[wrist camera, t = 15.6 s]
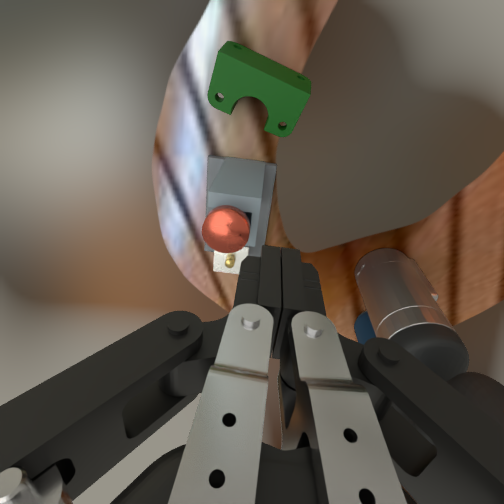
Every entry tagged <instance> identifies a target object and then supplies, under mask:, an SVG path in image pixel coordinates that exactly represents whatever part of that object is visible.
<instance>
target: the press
mask: <svg viewBox="0 0 504 504" xmlns="http://www.w3.org/2000/svg"><path fill="white" fill-rule="evenodd" d="M276 168H277V164H274V163H266V162H264V161H256V160H249V159H241V158H233V157H221V156H213V155H209V156H208V166H207V195H206V217H207V215H208V213H209V212H210V211H211V210H212V209H214V208H216V207H218V206H222V205H230V206H234V207H236V208H238V209H240V210H241V211H243V212H244V213H245V214H246V216H247V217H248V219H249V222H250V233H249V239H248V242H247V243H246V245H245V246H249V254H248V256H256V257H260V255H261V248H262V245H265V238H266V232H267V226H268V219H269V213H270V207H271V200H272V194H273V187H274V181H275V175H276ZM205 251H211V252H214V249H212V248H211V247H209V246H208V245H207V243H206V242H205Z"/></svg>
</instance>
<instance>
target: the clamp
mask: <svg viewBox="0 0 504 504" xmlns="http://www.w3.org/2000/svg"><path fill="white" fill-rule="evenodd" d="M218 93H221V94H223V96H224V98H220V97H219V96H218ZM310 94H311V81H310V80H309V79H308V78H307V77H305V76H303V75H302V74H300V73H297V72H295V71H293V70H291V69H289V68H287V67H285V66H283V65H281V64H279V63H277V62H275V61H273V60H271V59H269V58H267V57H265V56H263V55H261V54H258V53H256V52H254V51H252V50H250V49H248V48H246V47H244V46H242V45H240V44H238V43H235V42H232V41H227V42H226V43H225V44H224V45H223V46H222V47H221V49H220V50H219V51H218V55H217V59H216V63H215V67H214V70H213V74H212V78H211V82H210V86H209V90H208V100H209V103H210V104H211V105H212V106H213V107H214V108H216V109H218V110H221V111H223V112H225V113H227V114H229V115H231V113H232V111H233V110H234V108H235V106H236V104H237V102H238V99H240V98H242V97H245V96H252V97H255V98H258V99H259V100H261V101H262V102H263V103H264V105H265V106H266V108H267V110H268V117H267V121H266V124H265V127H264V130H265V131H267V132H270V133H272V134H274V135H276V136H279V137H286V136H288V135H290V134H291V133H292V131H293V129H294V127H295V125H296V123H297V121H298V119H299V117H300V115H301V113H302V111H303V109H304V107H305V105H306V103H307V101H308V99H309V97H310ZM280 122H285V123H286V124H287V125H285V126H281V125H280V124H279V123H280Z"/></svg>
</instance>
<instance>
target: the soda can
mask: <svg viewBox="0 0 504 504" xmlns="http://www.w3.org/2000/svg"><path fill="white" fill-rule="evenodd" d="M354 329H355V333H356V336H357V340H358V343H361V344H363V345H364V344H365V342H366V341H367V340H368V339H371V338H374V337H376V335H375V332H374V329H373V326H372V323H371V321H370V318H369V315H368V312H367V311H365V312H363V313H361V314H360V315H359V316H358V318H357V320H356V321H355V324H354Z"/></svg>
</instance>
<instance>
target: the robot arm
mask: <svg viewBox="0 0 504 504" xmlns="http://www.w3.org/2000/svg"><path fill="white" fill-rule="evenodd" d="M355 278H356V281H357V285H358V287H359V289H360V293H361V295H362V298H363V301H364V304H365V307H366V309H367V312H368V315H369V318H370V321H371V323H372V326H373V329H374V332H375V335H376V337H374V338H371V339H368V340H367V341H366V342H365V344H364V345H363V344H361V343H358V342H355V341H353V340H350V339H348V338H346V337H344V336H342V335H340V334H339V333H337V331H336V328H335V326H334V324H333V323H332V322H331V320H329V319H328V318H327V317H326V311H325V306H324V301H323V296H322V291H321V285H320V283H319V282H320V280H319V275H318V272H317V270H316V269H315V268H314V267H313V265H312V264H310V263H302V262H301V256H300V250H298V249H290V248H283V247H281V250H280V247H275V246H267V245H262V248H261V255H260V257H256V256H247V257H246V258H245V259H244V260H243V261H242V262H241V266H240V272H239V277H238V283H237V289H236V294H235V300H234V306H233V309H232V310H231V312H230V313H229V314H228V315H227V316H225V317H224V318H222V319H219V320H216V321H210V322H201V320H200V319H199V317H198V316H196V315H195V314H193V313H190V312H187V311H174V312H170V313H167V314H165V315H163V316H161V317H159V318H158V319H156V320H154V321H152V322H150V323H149V324H147V325H145V326H143V327H141V328H140V329H138V330H136V331H134V332H132V333H131V334H129V335H127V336H125V337H123V338H122V339H120V340H118V341H116V342H114V343H113V344H111V345H109V346H108V347H106V348H104V349H102V350H100V351H98V352H97V353H95V354H93V355H91V356H89V357H88V358H86V359H84V360H82V361H80V362H79V363H77V364H75V365H73V366H71V367H70V368H68V369H66V370H64V371H63V372H61V373H59V374H57V375H55V376H53V377H52V378H50V379H48V380H46V381H44V382H43V383H41V384H39V385H38V386H36V387H34V388H32V389H30V390H28V391H26V392H25V393H23V394H21V395H19V396H18V397H16V398H14V399H12V400H10V401H9V402H7V403H5V404H3V405H1V406H0V504H73V502H72V501H73V500H74V499H75V498H76V497H78V496H79V495H80V494H81V493H82V492H84V491H85V490H86V489H87V488H88V487H90V486H91V485H92V484H93V483H95V482H96V481H97V480H98V479H99V478H101V477H102V476H103V475H104V474H105V473H107V472H108V471H109V470H110V469H111V468H113V467H114V466H115V465H116V464H117V463H119V462H120V461H121V460H122V459H123V458H124V457H126V456H127V455H128V454H129V453H131V452H132V451H133V450H134V449H135V448H136V447H138V446H139V445H140V444H141V443H142V442H144V441H145V440H146V439H147V438H148V437H150V436H151V435H152V434H153V433H154V432H156V431H157V430H158V429H159V428H160V427H162V426H163V425H164V424H165V423H166V422H168V421H169V420H170V419H171V418H172V417H173V416H175V415H176V414H177V413H178V412H180V411H181V410H182V409H183V408H184V407H186V406H187V405H188V404H189V403H190V402H192V401H193V400H194V399H195V398H196V397H197V395H198V394H199V393H202V394H201V397H200V401H199V404H198V407H197V411H196V414H195V417H194V420H193V424H192V427H191V430H190V433H189V437H188V440H187V443H186V444H185V445H182V446H180V447H177V448H175V449H173V450H171V451H169V452H168V453H166V454H164V455H162V456H161V457H160V458H159V459H157V460H156V461H154V462H153V463H152V464H151V465H150V466H149V467H148V468H146V469H145V470H144V471H143V472H142V473H141V474H140V475H139V476H138V477H137V478H136V479H135V480H134V481H133V482H132V483H131V484H130V485H129V486H128V487H127V488H126V489H125V490H124V491H123V492H122V493H121V494H120V495H118V496H117V497H116V498H115V499H114V500H113V501H112V502H111V503H110V504H416V502H417V503H418V504H504V386H503V385H502V384H500V383H499V382H497V381H496V380H494V379H492V378H490V377H488V376H486V375H483V374H480V373H476V372H466V371H467V368H468V365H469V355H468V351H467V349H466V347H465V345H464V343H463V342H462V340H461V339H460V337H459V336H458V334H457V333H456V331H455V330H454V329H453V327H452V325H451V324H450V322H449V321H448V319H447V318H446V316H445V315H444V313H443V312H442V310H441V309H440V307H439V306H438V304H437V302H436V301H437V299H438V294H437V293H436V291H435V290H434V288H433V287H432V285H431V284H430V282H429V281H428V279H427V278H426V276H425V275H424V274H423V272H422V271H421V269H420V268H419V266H418V265H417V263H416V262H415V260H414V259H409V258H408V257H406V255H405V254H404V253H402V252H400V251H398V250H396V249H390V248H383V249H378V250H375V251H372V252H370V253H368V254H366V255H365V256H364V257H363V258H362V259H361V260H360V261H359V262H358V264H357V266H356V269H355ZM271 353H272V358H275V359H280V370H279V374H278V378H277V380H278V381H277V382H278V393H279V405H280V417H281V428H282V447H281V450H280V449H277V448H275V447H272V446H270V445H268V444H265V443H263V442H262V433H263V424H264V415H265V406H266V397H267V388H268V376H267V374H268V364H269V358H270V357H271ZM400 483H401V485H402V486H403V487H404V488H405V489H406V490H407V491H408V493H409V494H410V495H411V496H412V497H413V498H414V499H415V501H416V502H415V501H414V500H413V499H412V498H411V497H410V495H409V494H408V493H407V492H405V491H404V489H402V487H401V485H400Z"/></svg>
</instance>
